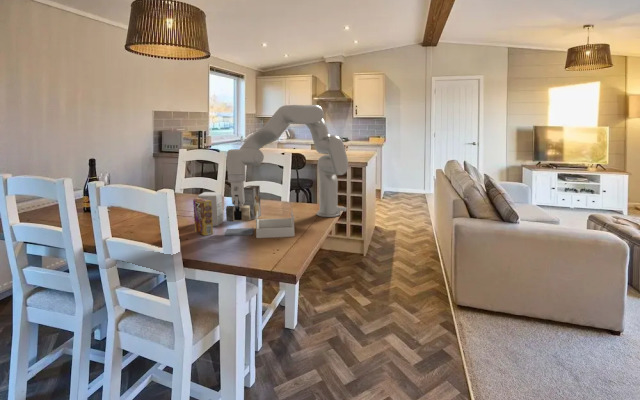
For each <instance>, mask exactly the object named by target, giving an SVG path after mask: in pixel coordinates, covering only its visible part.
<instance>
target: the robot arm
mask: <svg viewBox="0 0 640 400" xmlns="http://www.w3.org/2000/svg"><path fill="white" fill-rule="evenodd" d="M290 125H306V126H307V128H308V129H309V131H310V134H311V137H312V141H313V145H314V148H315V150H316V152H317V153H319V154H322V155H321V156H320V157H319V158H318V160H317V169H318V177H319V182H318V183H319V210H318V211H317V212H316V215H317V216H318V217H321V218H322V217H323V218H333V217H334V218H336V217H338V216H340V215H341V212H347V207H345V206H344V207H343V206H339V205H338V202H339V201H338V193H339V191H338V186H339V184H338V183H339V181H338V176H343V175H346V173H347V171H348V169H349V160H348V156H347V151H346V148H345V145H344V141H343V140H342V138H341V137H340V136H337V135H335V134H334V135H331V134H330V132H329V130H328V126H327V123H326V121H325V119H324V110H323V108H322V107H321V106H320V105H319V104H304V105H303V104H288V105H287V104H286V105H282V106H280V107H279V108H278V109H277V110H276V111H275V112H274V113H273V115H271V117H270V118H269V120H268V121H267V122H266V123H265V124H264V126H263V127H262V128H260V129H259V130H257V131H256V132H255V133H253V134H251V136H250V137H248V139H246V140H245V142H244V143H243V144H242V145H241V146H240V148H237V149H236V148H232V149H228V150H227V152H226V163H227V166H226V168H227V182H228V183H230V190H231V191H230V193H231V204H232V206H234V220H242V212H241V206H243V204H244V202H245V196H244V187H245V184H244V182H247V181H246V166H252V167H254V166H259V165H261V164H262V163H263V161H264V160H265V155H264V154H263V152H262V151H261V149H262V148H263V147H265V146H267V145H268V144H272V143H274V142H275V141H278V140H279V139H280V137H281V136H282V135H283V133H284V132H286V130H287V129H288V128H289V126H290Z"/></svg>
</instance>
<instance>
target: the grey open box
mask: <svg viewBox="0 0 640 400" xmlns="http://www.w3.org/2000/svg"><path fill="white" fill-rule="evenodd" d="M290 211H291V213H290V214H291V215H290V216H291V217H288V218H285V217H284V218H262V219H259V217H258V211H257V215H256V219H255V230H256V231H255V233H256V234H255V235H256V239H264V238H267V239H268V238H287V237H288V238H289V237H290V238H291V237H292V238H293V237H295V217H294V213H293V210H292V209H291V210H290Z"/></svg>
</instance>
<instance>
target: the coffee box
mask: <svg viewBox="0 0 640 400" xmlns="http://www.w3.org/2000/svg"><path fill="white" fill-rule="evenodd" d="M260 187H261V186H260V185H247V186H244V196H245V202H244V204H243V205H242V206H245V205H250V220H252V221H253V220H255V221H256V215H257V211H258V218H259V217H260V216H262V213H261V209H262V208H261V188H260Z"/></svg>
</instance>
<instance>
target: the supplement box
mask: <svg viewBox="0 0 640 400" xmlns="http://www.w3.org/2000/svg"><path fill="white" fill-rule="evenodd" d="M197 198H202V199H207V200H211V203H212V226H213V227H218V226H219V225H221V224H222V223H223V222H224V213H223V212H224V211H223V210H224V209H223V192H220V191H219V192H218V191H203V192H202V193H199V194H198V196H197Z"/></svg>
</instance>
